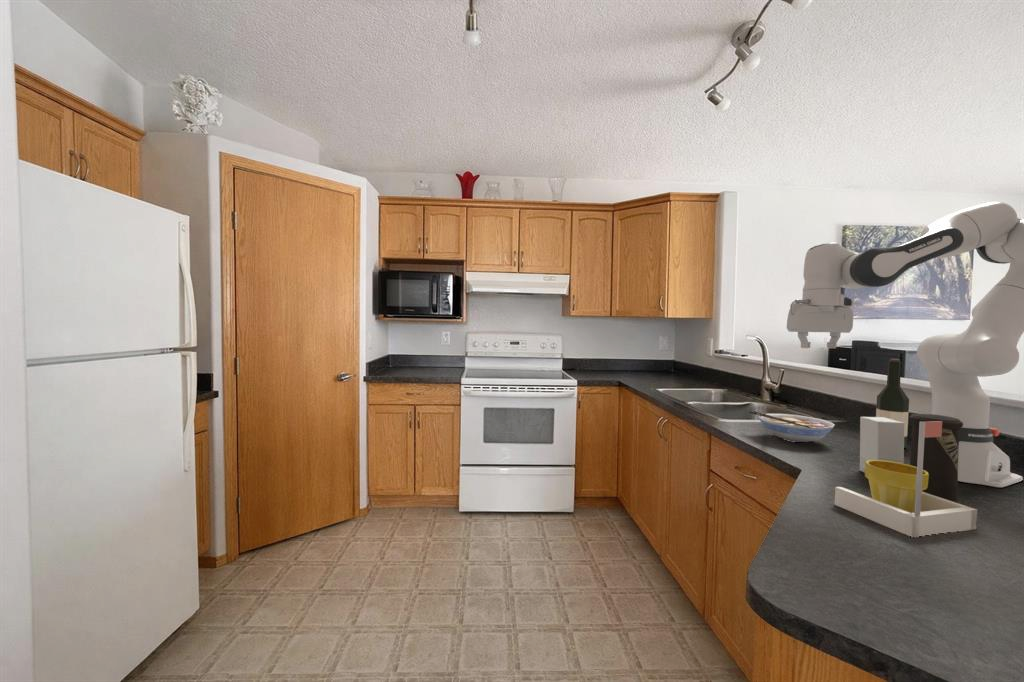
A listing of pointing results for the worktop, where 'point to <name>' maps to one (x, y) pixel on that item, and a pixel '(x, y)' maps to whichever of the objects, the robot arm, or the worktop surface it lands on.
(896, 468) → the plant pot
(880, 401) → the wine bottle
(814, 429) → the ramen bowl
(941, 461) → the container
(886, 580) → the worktop surface
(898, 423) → the skincare box
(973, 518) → the white frame with flag
